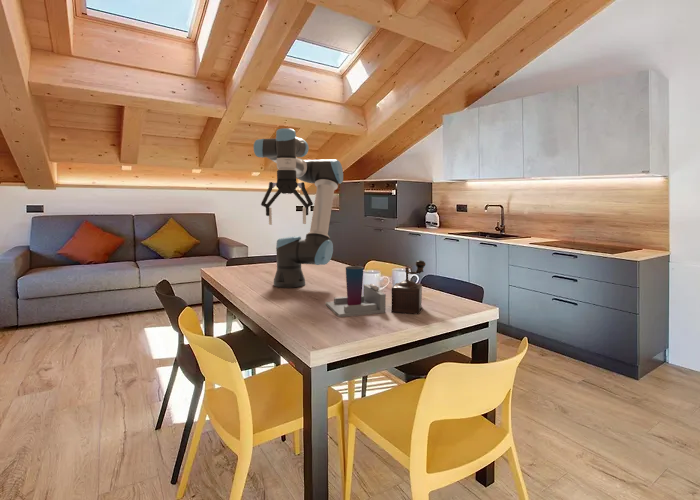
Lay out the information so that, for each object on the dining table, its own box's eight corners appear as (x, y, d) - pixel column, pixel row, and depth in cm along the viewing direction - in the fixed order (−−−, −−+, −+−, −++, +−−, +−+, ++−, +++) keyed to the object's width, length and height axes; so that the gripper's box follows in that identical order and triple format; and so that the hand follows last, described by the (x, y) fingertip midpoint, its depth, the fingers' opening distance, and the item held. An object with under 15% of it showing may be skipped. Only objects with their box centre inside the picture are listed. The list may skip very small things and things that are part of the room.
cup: (361, 308, 157) (361, 269, 155) (343, 307, 158) (343, 268, 156) (364, 304, 163) (364, 266, 161) (347, 303, 165) (347, 265, 163)
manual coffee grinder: (420, 315, 153) (421, 266, 150) (390, 312, 156) (391, 264, 153) (425, 304, 167) (426, 259, 165) (397, 302, 170) (398, 258, 168)
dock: (325, 304, 166) (325, 283, 165) (368, 300, 172) (368, 280, 171) (338, 317, 149) (338, 293, 148) (385, 312, 155) (385, 290, 154)
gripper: (255, 168, 156) (256, 225, 159) (319, 169, 164) (320, 223, 167) (253, 169, 163) (254, 224, 166) (315, 170, 171) (315, 222, 174)
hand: (287, 224), depth 167 cm, fingers open, 13 cm apart
